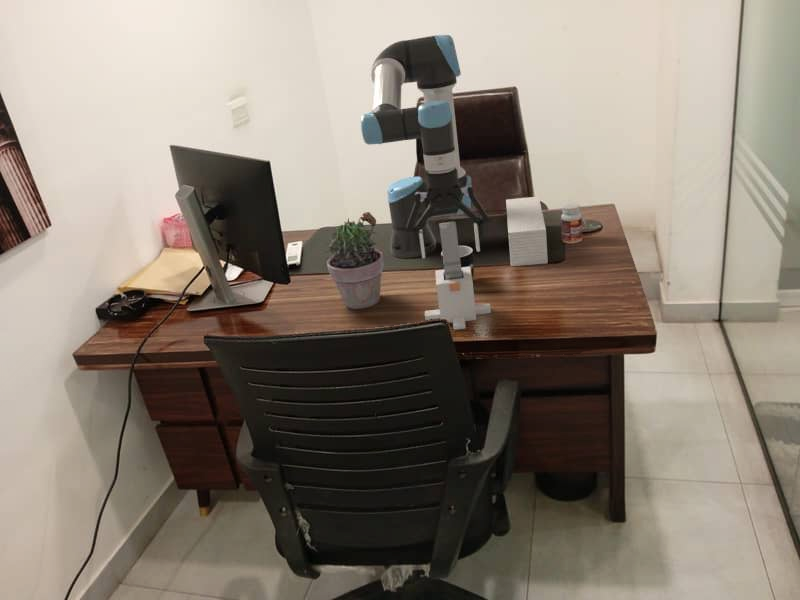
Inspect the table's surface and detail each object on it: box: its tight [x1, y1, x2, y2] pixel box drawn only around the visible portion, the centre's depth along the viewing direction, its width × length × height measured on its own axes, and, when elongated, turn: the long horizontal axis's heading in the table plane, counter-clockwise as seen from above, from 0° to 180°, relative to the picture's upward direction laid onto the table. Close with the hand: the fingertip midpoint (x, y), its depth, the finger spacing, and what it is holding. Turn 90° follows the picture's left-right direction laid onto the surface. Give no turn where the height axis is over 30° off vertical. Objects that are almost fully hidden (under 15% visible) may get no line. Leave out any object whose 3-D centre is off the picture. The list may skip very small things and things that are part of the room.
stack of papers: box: [505, 196, 548, 267], centre depth 209 cm, size 32×11×11 cm, turn 173°
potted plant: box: [320, 211, 387, 310], centre depth 184 cm, size 18×20×25 cm
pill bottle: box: [560, 202, 583, 245], centre depth 207 cm, size 6×6×11 cm
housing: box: [424, 266, 492, 331], centre depth 172 cm, size 17×17×11 cm
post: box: [439, 221, 462, 280], centre depth 169 cm, size 4×4×24 cm
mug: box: [440, 245, 475, 281], centre depth 190 cm, size 12×9×10 cm
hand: (450, 253), depth 167 cm, fingers open, 13 cm apart
